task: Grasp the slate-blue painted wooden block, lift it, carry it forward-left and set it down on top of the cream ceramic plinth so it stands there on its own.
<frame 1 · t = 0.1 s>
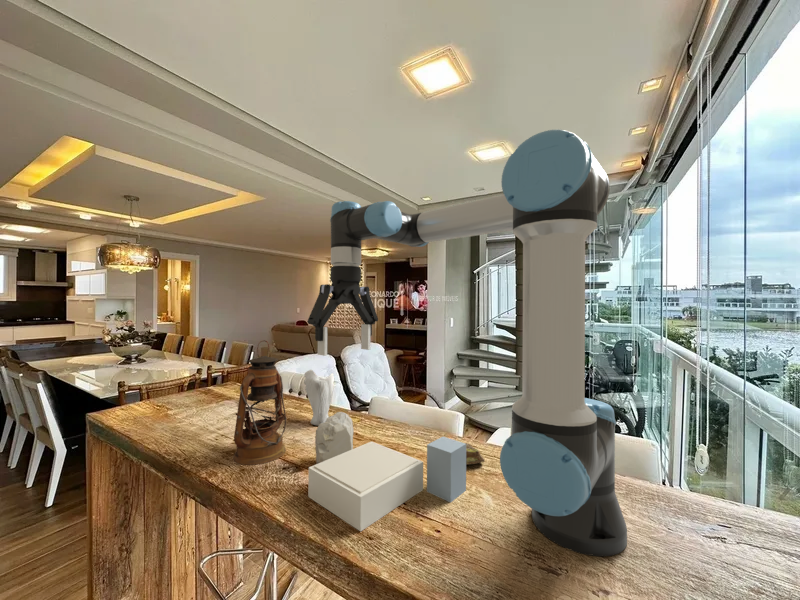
hand: (345, 352, 84), 28 cm above the counter, fingers open, 13 cm apart
plinth: (366, 493, 72), on the counter
block: (446, 491, 73), on the counter
stone: (335, 461, 87), on the counter
lantern: (259, 454, 90), on the counter
rock: (459, 460, 88), on the counter
white figurine: (319, 424, 113), on the counter
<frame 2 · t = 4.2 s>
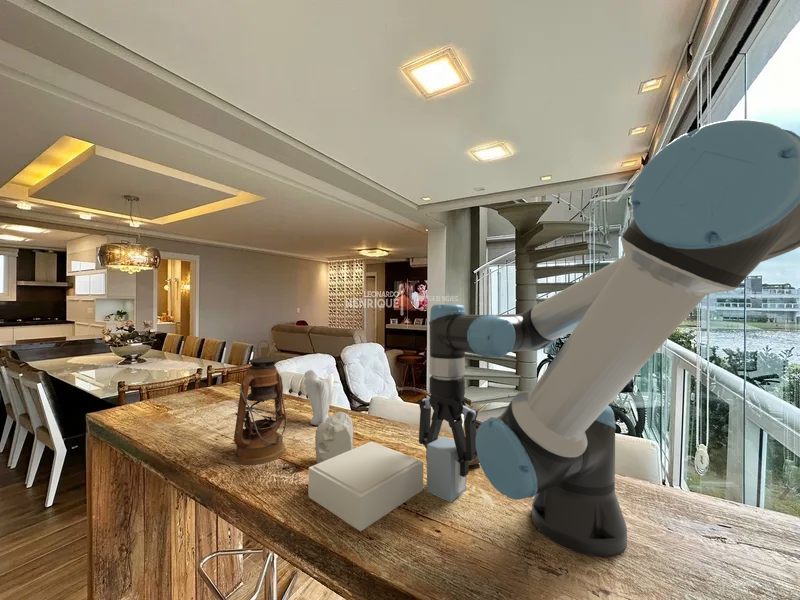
hand: (446, 484, 73), 1 cm above the counter, fingers closed on block, 6 cm apart
block: (446, 490, 73), on the counter, touching gripper
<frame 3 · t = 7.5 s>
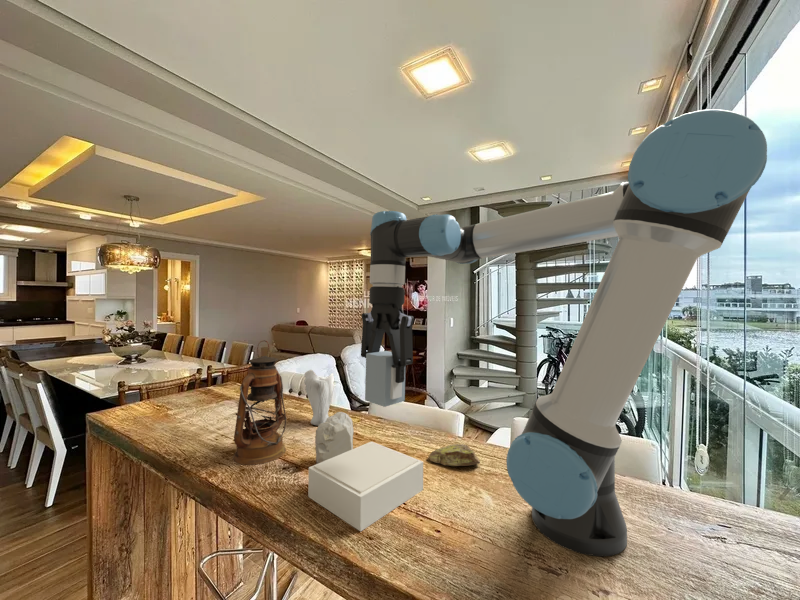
hand: (384, 394, 73), 21 cm above the counter, fingers closed on block, 6 cm apart
block: (384, 400, 73), point 19 cm above the counter, touching gripper
when the fingers open (9 cm above the counter, at t = 10.6 s): block drops 1 cm, resting on plinth.
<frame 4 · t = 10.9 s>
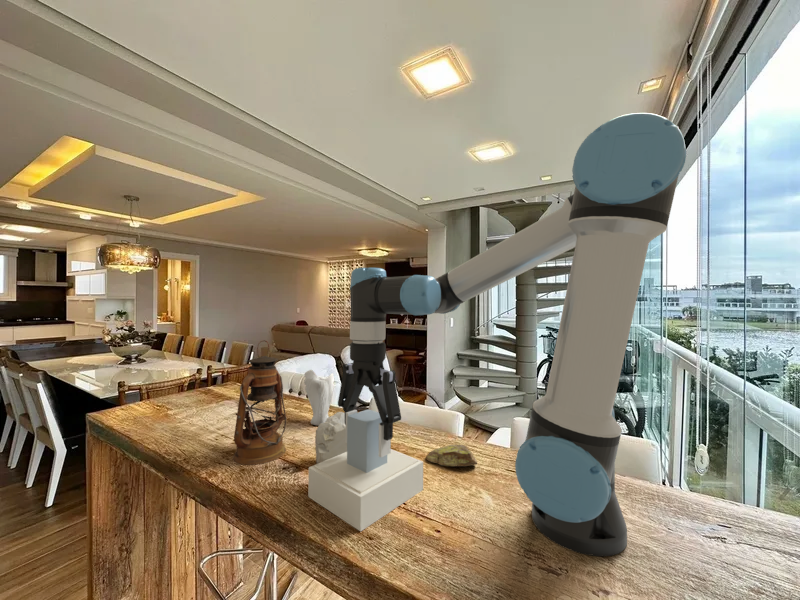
hand: (367, 447, 72), 10 cm above the counter, fingers open, 9 cm apart
block: (367, 463, 72), point 6 cm above the counter, touching plinth
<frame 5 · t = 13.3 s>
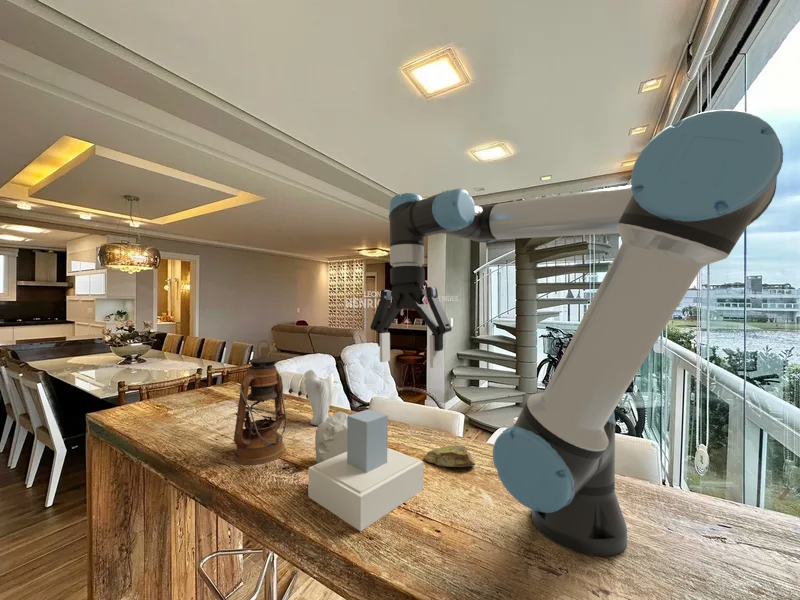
hand: (408, 364, 74), 27 cm above the counter, fingers open, 13 cm apart
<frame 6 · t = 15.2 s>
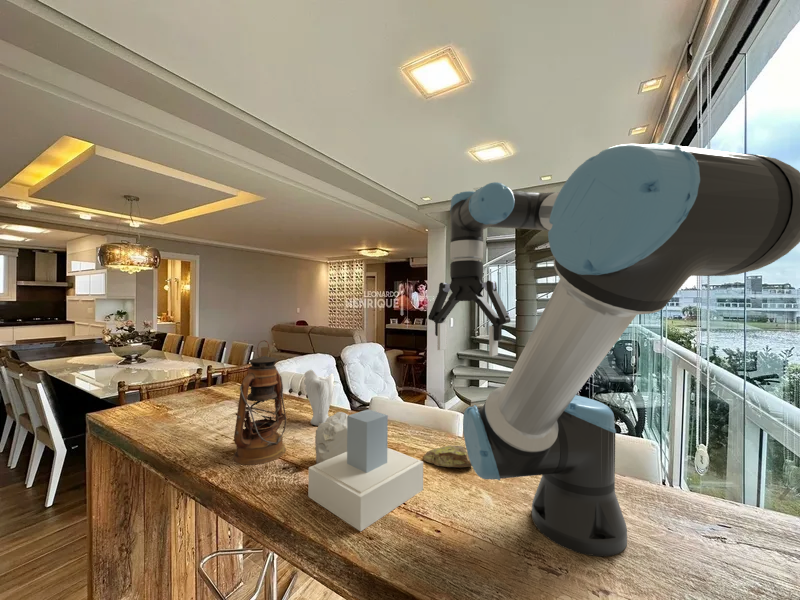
hand: (466, 352, 79), 29 cm above the counter, fingers open, 13 cm apart
at the end: block inside the target area on the plinth (0.1 cm from its centre), point 6.3 cm above the plinth's base; block tilted 0°; the gripper is holding nothing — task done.
